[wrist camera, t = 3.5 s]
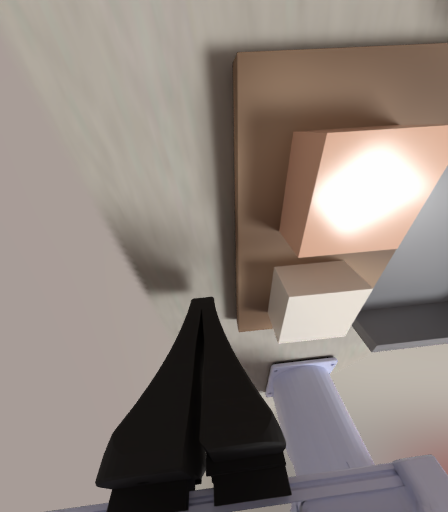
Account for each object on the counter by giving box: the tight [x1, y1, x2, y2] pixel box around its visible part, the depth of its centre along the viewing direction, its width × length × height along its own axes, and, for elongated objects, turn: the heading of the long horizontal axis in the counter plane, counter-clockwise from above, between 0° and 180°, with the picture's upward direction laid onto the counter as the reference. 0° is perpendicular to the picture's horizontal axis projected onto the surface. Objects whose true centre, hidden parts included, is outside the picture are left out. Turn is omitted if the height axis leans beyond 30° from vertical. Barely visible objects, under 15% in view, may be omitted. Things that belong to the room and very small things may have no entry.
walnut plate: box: [233, 43, 448, 332], centre depth 11 cm, size 16×10×1 cm, turn 3°
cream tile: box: [268, 260, 373, 344], centre depth 12 cm, size 4×4×2 cm
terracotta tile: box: [279, 124, 448, 258], centre depth 8 cm, size 4×4×2 cm
